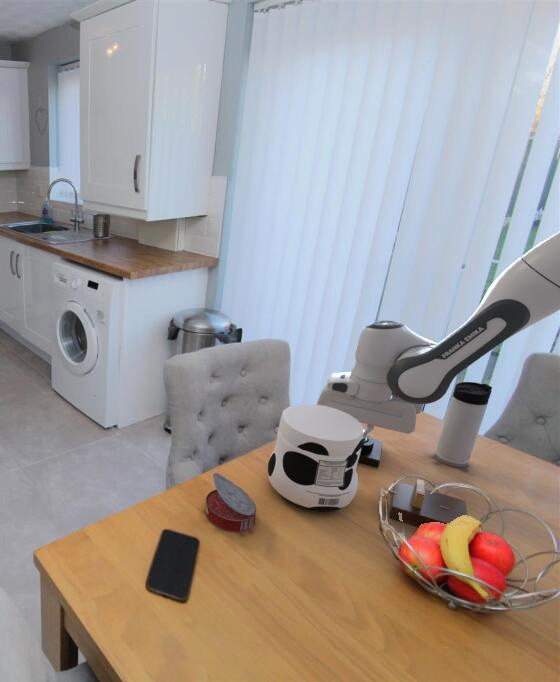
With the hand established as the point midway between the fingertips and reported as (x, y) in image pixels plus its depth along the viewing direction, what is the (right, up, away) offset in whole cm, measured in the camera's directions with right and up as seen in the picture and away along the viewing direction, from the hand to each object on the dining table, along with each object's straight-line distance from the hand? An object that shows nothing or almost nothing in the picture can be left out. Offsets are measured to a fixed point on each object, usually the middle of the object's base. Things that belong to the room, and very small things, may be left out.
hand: (358, 436), depth 118 cm
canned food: (-39, -13, -18) cm, 45 cm away
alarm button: (0, -2, +1) cm, 2 cm away
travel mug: (+20, -5, -3) cm, 21 cm away
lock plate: (+1, -12, -20) cm, 23 cm away
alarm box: (0, -4, +1) cm, 4 cm away
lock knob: (-1, -9, -20) cm, 22 cm away
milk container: (-19, -10, -12) cm, 25 cm away
